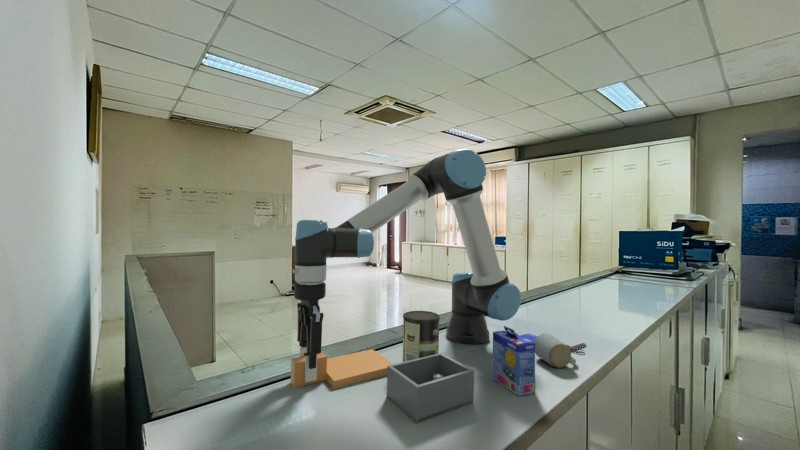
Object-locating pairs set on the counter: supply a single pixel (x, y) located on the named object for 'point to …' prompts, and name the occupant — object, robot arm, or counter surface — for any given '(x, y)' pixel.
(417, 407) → the parts tub
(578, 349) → the keychain
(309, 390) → the counter surface
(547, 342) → the ceramic mug
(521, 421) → the counter surface
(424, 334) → the coffee can
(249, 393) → the counter surface
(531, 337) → the hard drive
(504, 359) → the ink cartridge box
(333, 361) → the lid
